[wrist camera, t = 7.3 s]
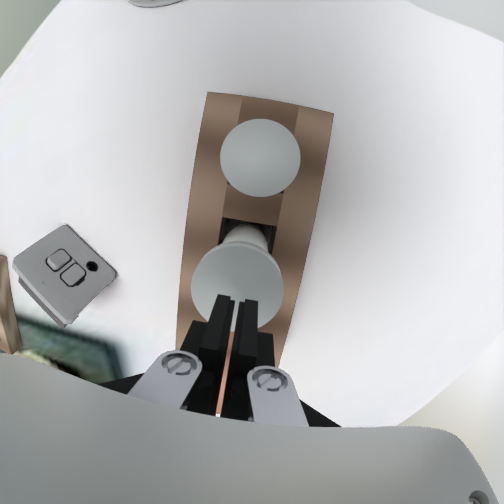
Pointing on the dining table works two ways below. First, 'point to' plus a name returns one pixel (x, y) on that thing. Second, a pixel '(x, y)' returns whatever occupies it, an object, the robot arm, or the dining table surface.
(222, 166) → the grey plug
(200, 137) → the block
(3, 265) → the square wooden frame
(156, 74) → the dining table surface
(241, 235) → the grey plug
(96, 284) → the electrical switch
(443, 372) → the dining table surface
